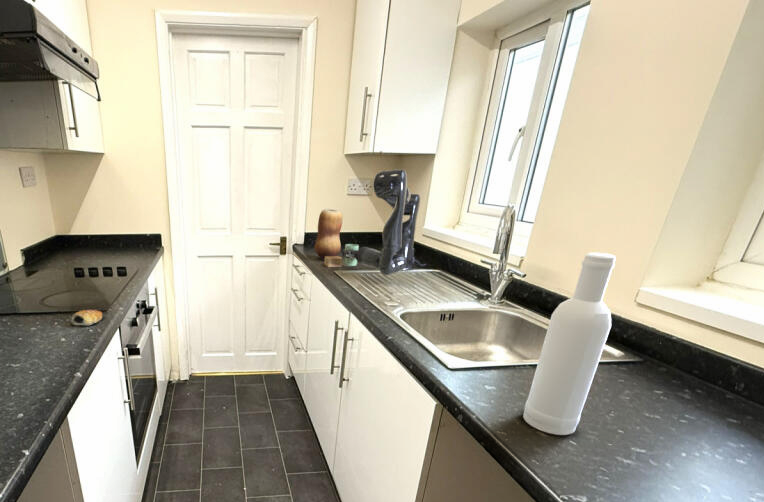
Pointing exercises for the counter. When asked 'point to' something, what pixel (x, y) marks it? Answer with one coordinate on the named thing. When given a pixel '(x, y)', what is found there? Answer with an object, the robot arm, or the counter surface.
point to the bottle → (571, 351)
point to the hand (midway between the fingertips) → (348, 250)
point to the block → (333, 261)
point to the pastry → (86, 317)
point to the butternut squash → (328, 233)
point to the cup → (349, 260)
